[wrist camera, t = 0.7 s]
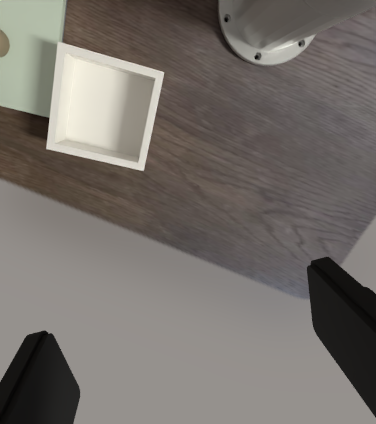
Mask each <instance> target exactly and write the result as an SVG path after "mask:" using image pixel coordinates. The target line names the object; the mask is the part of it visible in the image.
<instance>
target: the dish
mask: <svg viewBox="0 0 376 424" xmlns="http://www.w3.org/2000/svg"><path fill="white" fill-rule="evenodd" d="M163 76H164V72H161V71H158V70H154V69H151V68H148V67H144V66H141V65H137V64H134V63H130V62H127V61H123V60H120V59H117V58H113V57H110V56H106V55H103V54H99V53H96V52H92V51H89V50H86V49H82V48H79V47H75V46H72V45H68V44H65V43H61V42H58V44H57V54H56V63H55V72H54V82H53V91H52V101H51V110H50V119H49V129H48V138H47V148H46V149H50V150H54V151H58V152H63V153H67V154H71V155H76V156H80V157H85V158H89V159H93V160H98V161H102V162H106V163H111V164H115V165H120V166H124V167H128V168H133V169H137V170H142V171H144V167H145V162H146V157H147V152H148V148H149V143H150V138H151V133H152V129H153V124H154V119H155V114H156V110H157V105H158V100H159V95H160V91H161V86H162V81H163Z"/></svg>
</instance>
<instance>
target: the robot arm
mask: <svg viewBox="0 0 376 424" xmlns="http://www.w3.org/2000/svg"><path fill="white" fill-rule="evenodd" d="M375 6H376V0H218V18H219V23H220V27H221V31H222V33H223V36H224V38H225V40H226V42H227V43H228V45H229V46H230V48H231V49H232V50H233V51H234V52H235V53H236V54H237V55H238V56H239V57H240V58H242V59H243V60H245V61H247V62H249V63H252V64H254V65H259V66H275V65H278V64H282V63H285V62H287V61H289V60H291V59H293V58H294V57H296V56H297V55H299V54H300V53H301V52H302V51H303V50H305V49H306V47H307V46H308V45H309V44H310V42H311V41H312V40H313V38H314V37H315V35H316V34H317V33H319V32H321V31H323V30H325V29H328V28H330V27H332V26H334V25H336V24H339V23H341V22H343V21H345V20H348V19H350V18H352V17H354V16H356V15H359V14H361V13H363V12H365V11H367V10H369V9H371V8H373V7H375ZM224 18H227V20H228V22H225V21H224ZM298 43H300V46H299V45H298ZM255 55H256V56H257V60H256V59H255V58H254V56H255ZM307 274H308V284H309V294H310V303H311V313H312V322H313V327H314V330H315V332H316V334H317V336H318V337H319V339H320V340H321V341H322V343H323V344H324V346H325V347H326V348H327V350H328V351H329V353H330V354H331V356H332V357H333V358H334V360H335V361H336V363H337V364H338V365H339V366H340V368H341V370H342V371H343V372H344V373H345V375H346V376H347V378H348V379H349V381H350V382H351V384H352V385H353V386H354V387H355V389H356V390H357V392H358V393H359V395H360V396H361V397H362V399H363V400H364V402H365V403H366V405H367V406H368V407H369V409H370V410H371V412H372V413H373V414H374V416H375V417H376V294H375V293H374V292H373V291H372V290H370V289H369V288H367V287H363V286H362V285H361V284H360V283H358V282H357V281H356V280H355V279H354V278H353V277H351V276H350V275H349V274H348V273H347V272H346V271H345V270H343V269H342V268H341V267H340V266H339V265H338V264H336V263H335V262H334V261H333V260H332V259H331V258H329V257H324V258H320V259H317V260H313V261H311V265H310V266H308V267H307ZM79 398H80V389H79V386H78V384H77V382H76V380H75V378H74V376H73V374H72V372H71V370H70V368H69V366H68V364H67V362H66V360H65V358H64V355H63V354H62V351H61V349H60V348H59V345H58V343H57V341H56V339H55V338H54V336H53V334H51V333H50V334H48V332H46V331H41V332H37V333H33V334H29V335H27V336H26V338H25V339H24V341H23V343H22V345H21V346H20V348H19V350H18V352H17V354H16V355H15V357H14V359H13V361H12V362H11V364H10V366H9V368H8V369H7V371H6V373H5V375H4V376H3V378H2V380H1V382H0V424H73V422H74V418H75V414H76V410H77V406H78V402H79Z"/></svg>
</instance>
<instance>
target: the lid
mask: <svg viewBox="0 0 376 424" xmlns="http://www.w3.org/2000/svg"><path fill="white" fill-rule="evenodd" d="M65 7H66V0H0V106H4V107H8V108H12V109H16V110H20V111H24V112H28V113H32V114H36V115H40V116H44V117H48V118H50V110H51V101H52V91H53V82H54V72H55V63H56V54H57V44H58V42H61V43H62V34H63V25H64V16H65Z"/></svg>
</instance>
